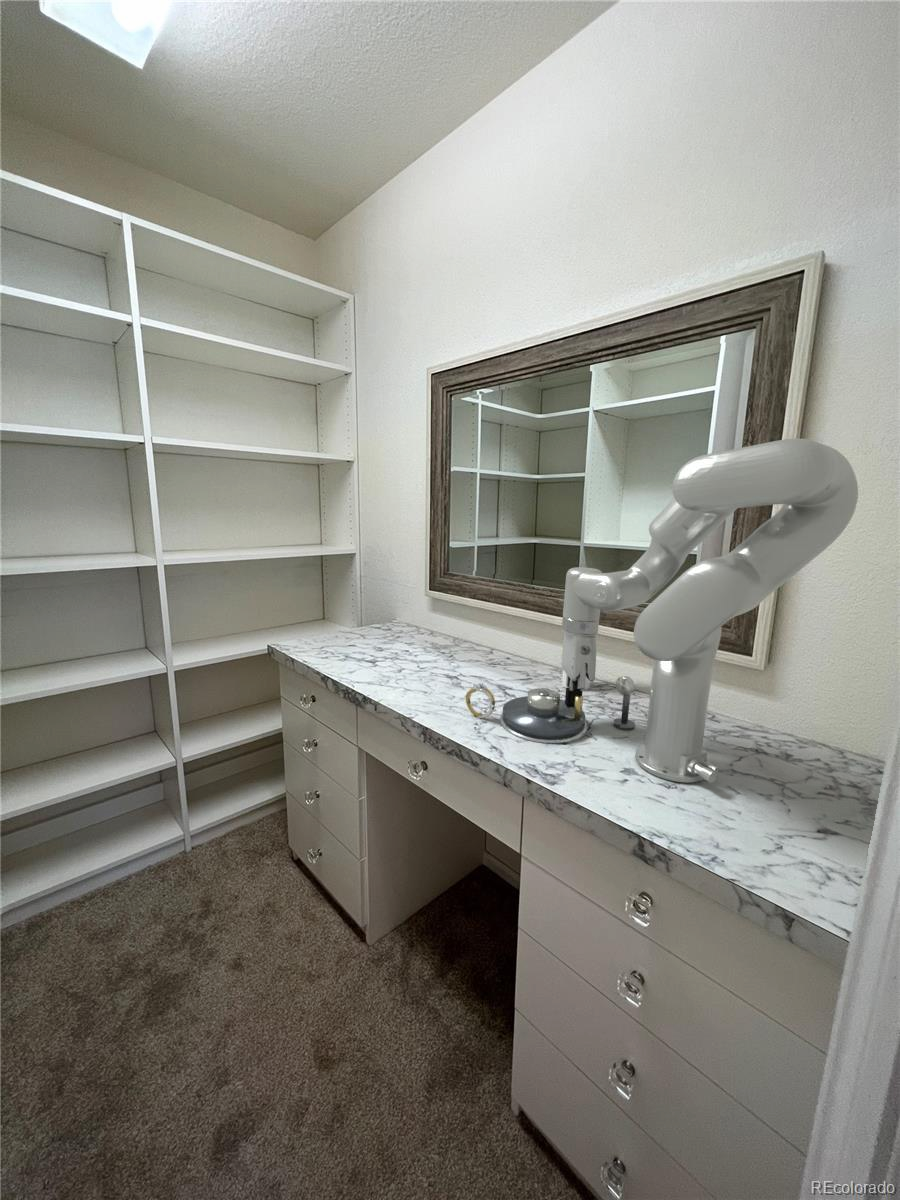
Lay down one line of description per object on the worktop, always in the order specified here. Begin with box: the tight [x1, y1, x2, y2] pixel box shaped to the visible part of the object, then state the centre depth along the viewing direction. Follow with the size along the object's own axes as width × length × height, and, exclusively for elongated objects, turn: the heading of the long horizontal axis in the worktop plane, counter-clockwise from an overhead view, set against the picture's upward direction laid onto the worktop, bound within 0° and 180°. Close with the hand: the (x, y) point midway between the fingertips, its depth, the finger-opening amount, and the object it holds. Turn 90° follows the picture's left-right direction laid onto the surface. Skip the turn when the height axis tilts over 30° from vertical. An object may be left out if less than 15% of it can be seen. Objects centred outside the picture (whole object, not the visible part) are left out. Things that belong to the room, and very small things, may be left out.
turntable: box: [502, 695, 586, 739], centre depth 104 cm, size 18×18×7 cm
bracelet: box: [465, 683, 496, 719], centre depth 106 cm, size 7×3×8 cm, turn 52°
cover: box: [527, 687, 561, 718], centre depth 104 cm, size 7×7×4 cm
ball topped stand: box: [613, 675, 636, 731], centre depth 103 cm, size 4×4×12 cm
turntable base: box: [499, 712, 588, 745], centre depth 105 cm, size 19×19×1 cm
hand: (572, 705), depth 104 cm, fingers closed
